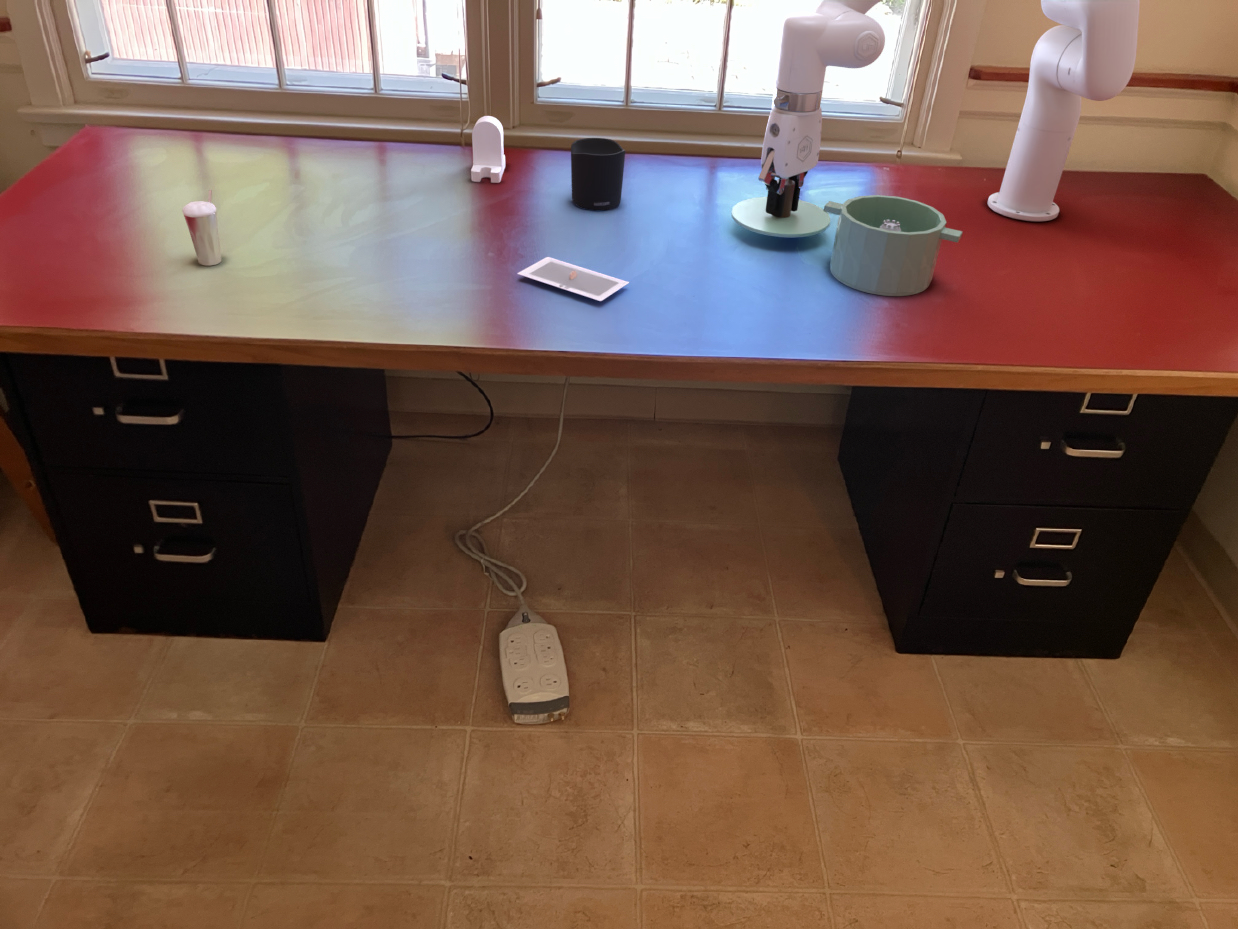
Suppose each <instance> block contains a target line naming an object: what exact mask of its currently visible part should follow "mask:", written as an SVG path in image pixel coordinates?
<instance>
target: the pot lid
mask: <svg viewBox="0 0 1238 929" xmlns="http://www.w3.org/2000/svg"><path fill="white" fill-rule="evenodd" d="M775 180H776V181H777V182H779V178H777V179H775ZM794 187H795V182H794V181H793V180H790V179H786V181H785V186H784V191H783V193H784V194H785V201H784V209H783V215H782V217H776V216H774V215H771V214H769V213H766V203H767V196H756V197H751V198H747V199H743V200H741V201H739V202H737V203H735V205H734V206H732V208H731V213H730V214H731V218H732V220H733V222H735V223H736V224H737V225H738V226H740V227H742V228H743V229H745V230H748V231H750V232H753V233H756V234H760V235H765V236H770V237H778V238H804V237H805V238H806V237H811V236H815V235H818V234H820V233H823V232H824V231H826V230H827V229H828V228H829V227H830V226H831V216H830V213H828V212H824V208H822V207H820V206H819V205H817V204H814V203H811V202H809V201H806V200H802V199H799V202H798V209H797V211H791V208H792V201H793V194H794Z"/></svg>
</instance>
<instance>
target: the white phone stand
mask: <svg viewBox="0 0 1238 929" xmlns="http://www.w3.org/2000/svg"><path fill="white" fill-rule="evenodd" d="M471 139H472V141H471V142H472V145H471V146H472V167H471V169H470V174H471V175H470V176H471V182H475V183H481V180H482V179H484V178H488V179H490V183H493V184H499V183H501V181H502V178H503V174H504V172H505V169H506V155H505V154H504V153H505V152H504V150H505V149H504V127H503V125H502V123H501V121H500V120H499V119H497V118H496V117H495V116H491V115H483V116H481V117H479V119H478V120H476V122H475V124H474V127H473V129H472V133H471Z"/></svg>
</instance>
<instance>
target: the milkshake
mask: <svg viewBox="0 0 1238 929" xmlns="http://www.w3.org/2000/svg"><path fill="white" fill-rule="evenodd" d="M212 193H213V190H211V189H209V190H208V197H207V198H208V199H207V201H202V200H197V201H195V200H194V201H190V202H189V203H187V204H185V205H184V206H183V208H182V210H181V211H182V214H183V217H184V220H185V223H186V226H187V229H188V231H189V234H190V239H191V242H192V245H193V248H194V251H195V256H196V258H197V261H198V264H199V265H201V266H207V267H211V266H216V265H218V264H220V263H222V253H221V244H220V237H219V227H218V226H219V225H218V214H217V207H216V205H214V203H212V195H213V194H212Z"/></svg>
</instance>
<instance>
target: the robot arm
mask: <svg viewBox="0 0 1238 929" xmlns="http://www.w3.org/2000/svg"><path fill="white" fill-rule="evenodd" d="M882 1H883V0H821V1H820V2H819V4H818V5H817V6H816V7H815V9H814V11H813V12H808V11H797V12H792V13H789V14H787V15H786V16H785V17H784V19H783V20H782V22H781V29H780V38H779V46H778V52H777V61H776V68H775V69H776V70H775V78H774V86H773V94H772V101H771V110H770V113H769V116H768V120H767V124H766V129H765V133H764V138H763V144H762V150H761V157H760V158H761V159H760V169H761V171H760V173H759V175H758V181H759V182H761V183H763V184H764V185H765V189H766V191H767V196H766V197H767V203H766V213H769V214H771V215H774V216H776V217H782V215H783V209H784V201H785V194H784V193H783V191H784V186H785V181H786V179H790V180H793V181H794V182H795V187H794V194H793V201H792V208H791V211H797V209H798V202H799V200H800V196H801V195H800V194H801V188H802V187H803V186H804V182H805V178H806V176H807V174H808V173H809V171H811V170H813V169H814V168H815V167H816V166H817V165H818V163H819V158H820V151H821V142H822V132H823V131H822V128H823V111H822V106H821V104H822V97H823V91H824V90H823V89H824V83H825V77H826V70H827V67H836V68H846V69H860V68H865V67H867V66H870V65H872V64H874V62H875V61H877V60H878V59H879V57H880V56H881V55H882V53H883V51H884V48H885V45H886V36H885V31H884V29H883V27H882V26H881V24H880V23H879V22H878V21H877V20H875V19H874V18H873V17H871V16H869V15H867V13H868V11H870V10H871V9H872V8H873V7H875V6H876V5H877V4H879V3H880V2H882ZM1140 2H1141V0H1040V7H1041V11H1042V13H1043V14H1044V16H1045V17H1046V18H1047V19H1049V20H1050V21H1052V22H1055V23H1056V24H1057V23H1058V24H1059V25H1055V26H1053V27H1051V28H1049V29H1047V31H1045V32H1044V33H1043V34H1042V35H1041V36H1040V37H1039V39H1038V40H1037V42H1036V43H1035V44H1034V47H1033V50H1032V54H1031V59H1030V65H1029V74H1028V75H1029V76H1028V85H1027V90H1026V91H1027V92H1026V96H1025V100H1024V103H1023V108H1022V110H1021V115H1020V118H1019V121H1018V125H1017V129H1016V132H1015V136H1014V139H1013V142H1012V146H1011V150H1010V153H1009V157H1008V159H1007V160H1008V161H1007V164H1006V167H1005V171H1004V174H1003V177H1002V181H1001V185H1000V189H999V191H998V192H994V193H992V194H990V195H989V196H988V199H987V206H988V207H989V208H990V210H992V211H993V212H995V213H997V214H999V215H1001V216H1004V217H1008V218H1011V219H1014V220H1019V221H1026V222H1047V221H1048V222H1049V221H1052V220H1054V219H1056V218H1057V217H1058V216H1059V213H1060V206H1058V204H1057V203H1055V202H1054V201H1055V200H1054V199H1055V196H1056V193H1057V190H1058V187H1059V184H1060V181H1061V178H1062V175H1063V172H1064V168H1065V165H1066V162H1067V159H1068V155H1069V152H1070V149H1071V147H1072V143H1073V140H1074V136H1075V134H1076V130H1077V128H1078V125H1079V121H1080V119H1081V113H1082V98H1085V99H1087V100H1091V101H1096V102H1103V101H1108V100H1111V99H1114V98H1115V97H1116V96H1118V95H1119V94H1120V93H1122V91H1123V90H1124V89H1125V88H1126V87H1127V85H1128V84H1129V82H1130V80H1131V78H1132V75H1133V72H1134V69H1135V66H1136V58H1137V48H1138V37H1139V36H1138V35H1139V22H1140V20H1139V19H1140ZM776 178H777V179H779V182H777V181H776V180H777V179H776Z"/></svg>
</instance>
